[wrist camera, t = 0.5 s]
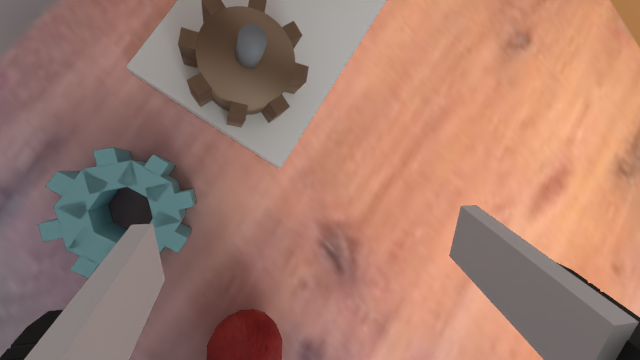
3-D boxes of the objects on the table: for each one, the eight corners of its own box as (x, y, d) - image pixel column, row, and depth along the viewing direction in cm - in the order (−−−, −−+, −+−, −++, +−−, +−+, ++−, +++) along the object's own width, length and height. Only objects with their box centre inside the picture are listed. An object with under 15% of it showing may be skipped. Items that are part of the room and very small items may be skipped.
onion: (281, 339, 28) (305, 399, 21) (221, 371, 27) (223, 449, 19) (261, 284, 28) (278, 326, 20) (198, 313, 26) (191, 371, 18)
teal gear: (156, 282, 25) (145, 302, 21) (39, 229, 22) (3, 241, 18) (217, 189, 26) (218, 192, 22) (115, 129, 24) (95, 121, 20)
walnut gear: (259, 146, 26) (267, 142, 22) (162, 82, 23) (152, 64, 20) (312, 65, 27) (327, 48, 23) (226, -4, 25) (227, -35, 21)
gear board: (277, 168, 28) (302, 166, 20) (131, 73, 24) (88, 23, 16) (388, -8, 31) (448, -70, 23) (277, -117, 27) (302, -238, 19)
